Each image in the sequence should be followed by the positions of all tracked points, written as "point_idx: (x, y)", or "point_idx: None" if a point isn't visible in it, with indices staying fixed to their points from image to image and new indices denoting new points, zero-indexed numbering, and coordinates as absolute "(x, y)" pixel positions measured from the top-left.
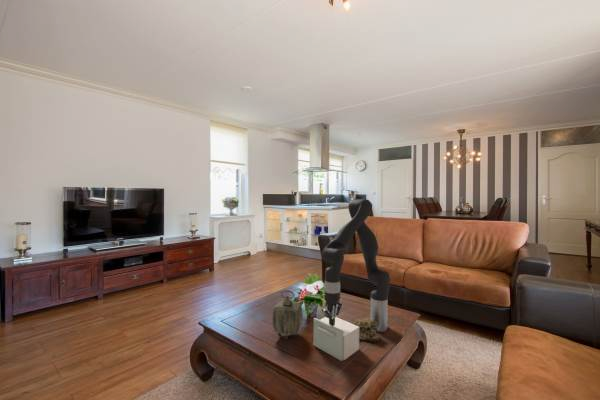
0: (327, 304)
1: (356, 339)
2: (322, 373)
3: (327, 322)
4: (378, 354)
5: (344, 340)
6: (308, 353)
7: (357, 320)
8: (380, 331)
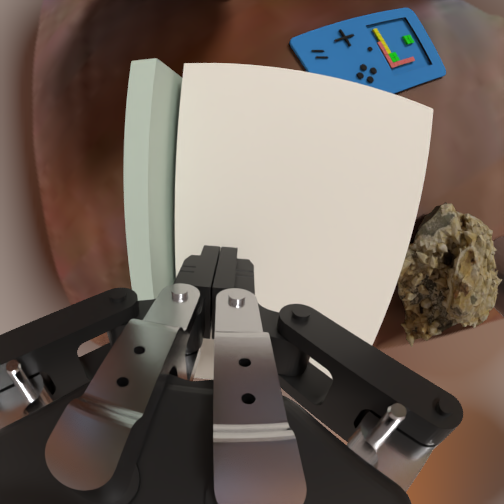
0: (16, 491)
1: None
2: (93, 258)
3: (273, 168)
4: None
5: None
6: None
7: (482, 250)
8: None
